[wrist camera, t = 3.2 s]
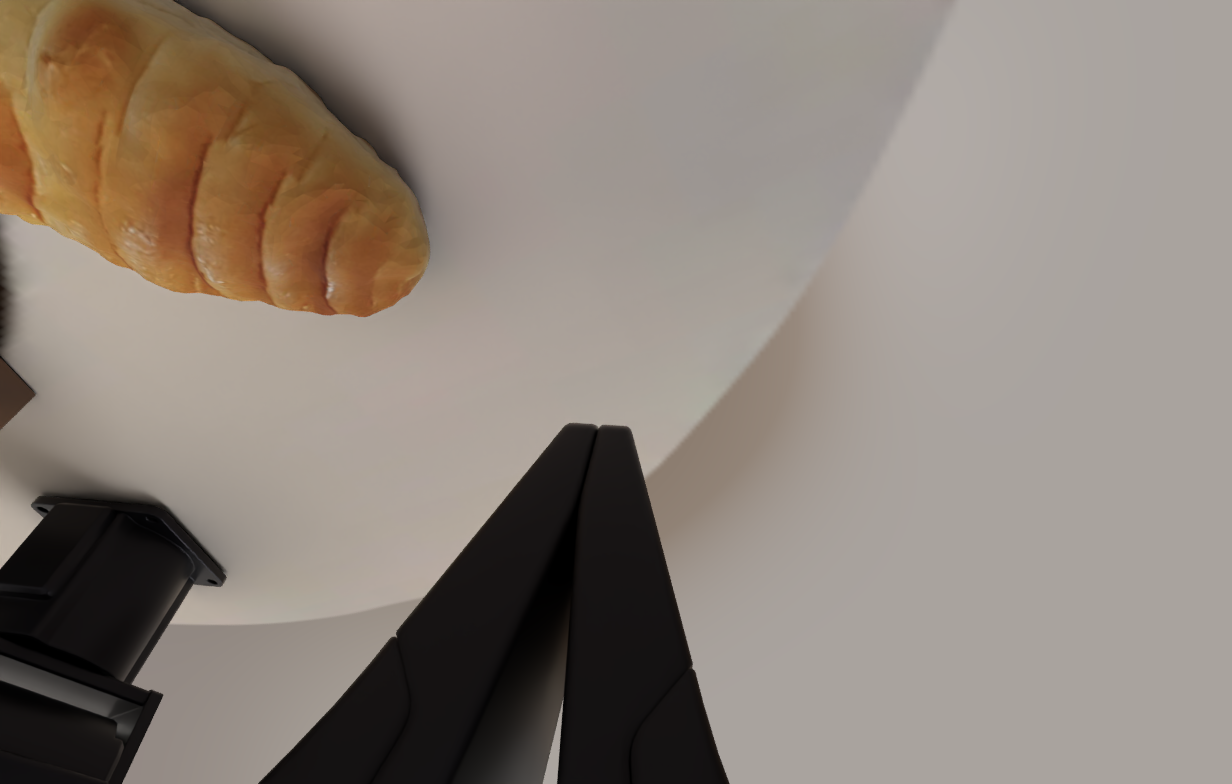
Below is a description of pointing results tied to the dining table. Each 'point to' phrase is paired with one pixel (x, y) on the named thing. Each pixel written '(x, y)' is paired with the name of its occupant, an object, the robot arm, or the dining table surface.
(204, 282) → the pastry
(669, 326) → the dining table surface
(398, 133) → the dining table surface
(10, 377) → the strip
